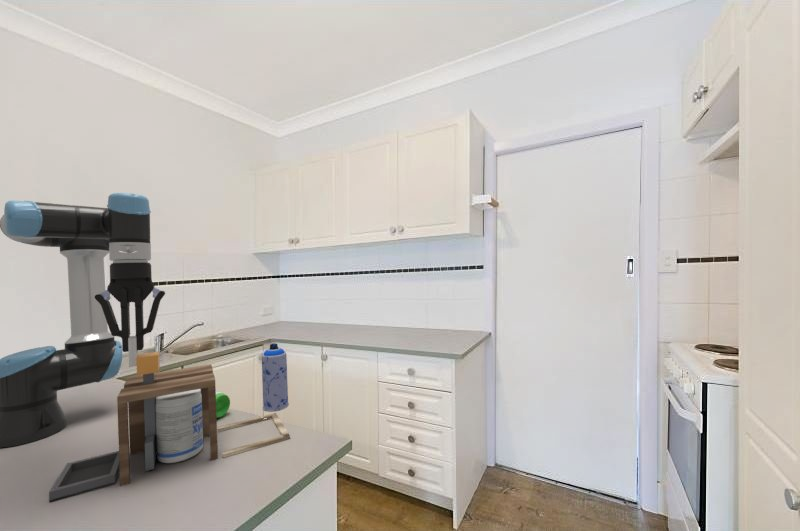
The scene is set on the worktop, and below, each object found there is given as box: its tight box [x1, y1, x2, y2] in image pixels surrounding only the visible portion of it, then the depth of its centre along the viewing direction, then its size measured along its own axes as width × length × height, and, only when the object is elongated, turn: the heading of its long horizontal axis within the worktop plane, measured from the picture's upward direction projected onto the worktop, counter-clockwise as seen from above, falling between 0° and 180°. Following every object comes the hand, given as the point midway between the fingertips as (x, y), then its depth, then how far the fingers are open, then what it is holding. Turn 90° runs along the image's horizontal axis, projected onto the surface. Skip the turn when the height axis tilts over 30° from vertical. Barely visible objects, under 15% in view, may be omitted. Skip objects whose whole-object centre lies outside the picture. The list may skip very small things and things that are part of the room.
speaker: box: [216, 391, 231, 419], centre depth 107 cm, size 18×7×8 cm, turn 68°
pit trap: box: [48, 450, 120, 503], centre depth 75 cm, size 12×10×2 cm
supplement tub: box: [155, 389, 204, 464], centre depth 84 cm, size 10×10×15 cm
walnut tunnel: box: [116, 364, 219, 487], centre depth 83 cm, size 16×18×18 cm
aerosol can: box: [261, 343, 290, 413], centre depth 111 cm, size 8×8×20 cm
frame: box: [217, 412, 291, 459], centre depth 93 cm, size 17×16×1 cm
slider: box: [136, 351, 161, 472], centre depth 81 cm, size 12×4×24 cm, turn 32°
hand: (133, 365), depth 79 cm, fingers closed
